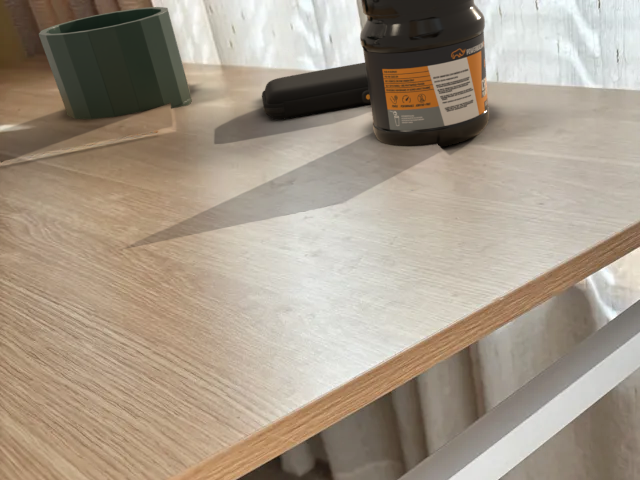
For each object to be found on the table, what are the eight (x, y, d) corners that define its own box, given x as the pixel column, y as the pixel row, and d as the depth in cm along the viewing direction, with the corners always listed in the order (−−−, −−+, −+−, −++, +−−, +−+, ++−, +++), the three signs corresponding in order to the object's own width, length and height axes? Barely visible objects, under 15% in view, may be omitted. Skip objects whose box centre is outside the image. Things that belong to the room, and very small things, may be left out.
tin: (67, 137, 93) (32, 41, 87) (76, 110, 104) (46, 24, 98) (194, 112, 94) (168, 16, 88) (189, 88, 105) (166, 2, 99)
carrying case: (268, 132, 82) (410, 106, 83) (261, 99, 80) (406, 72, 81) (264, 109, 91) (394, 85, 91) (258, 78, 89) (390, 54, 89)
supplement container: (475, 150, 68) (464, -21, 61) (359, 156, 72) (334, -6, 64) (501, 115, 76) (494, -41, 68) (394, 122, 79) (376, -27, 71)
